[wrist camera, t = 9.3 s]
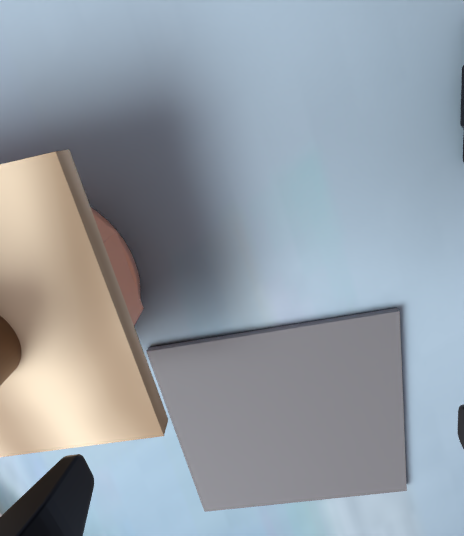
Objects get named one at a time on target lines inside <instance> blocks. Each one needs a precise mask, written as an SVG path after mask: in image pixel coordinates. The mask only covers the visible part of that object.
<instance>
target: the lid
mask: <svg viewBox="0 0 464 536" xmlns="http://www.w3.org/2000/svg"><path fill="white" fill-rule="evenodd" d="M167 422H168V418H167V415H166V412H165V410H164V407H163V404H162V401H161V399H160V396H159V393H158V390H157V388H156V385H155V382H154V380H153V377H152V374H151V371H150V369H149V366H148V363H147V360H146V358H145V355H144V352H143V349H142V347H141V344H140V341H139V339H138V336H137V333H136V330H135V328H134V325H133V322H132V319H131V317H130V314H129V311H128V308H127V306H126V303H125V300H124V298H123V295H122V292H121V289H120V287H119V284H118V281H117V278H116V276H115V273H114V270H113V267H112V265H111V262H110V259H109V257H108V254H107V251H106V248H105V246H104V243H103V240H102V237H101V235H100V232H99V229H98V227H97V224H96V221H95V218H94V216H93V213H92V210H91V207H90V205H89V202H88V199H87V196H86V194H85V191H84V188H83V186H82V183H81V180H80V177H79V175H78V172H77V169H76V166H75V164H74V161H73V158H72V155H71V153H70V150H69V149H68V150H62V151H56V152H51V153H47V154H43V155H38V156H34V157H30V158H25V159H21V160H17V161H13V162H8V163H4V164H0V457H5V456H13V455H21V454H28V453H36V452H44V451H52V450H59V449H67V448H75V447H82V446H90V445H98V444H106V443H113V442H121V441H129V440H137V439H144V438H152V437H160V436H164V433H165V429H166V426H167Z"/></svg>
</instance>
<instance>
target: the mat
mask: <svg viewBox="0 0 464 536" xmlns="http://www.w3.org/2000/svg"><path fill="white" fill-rule="evenodd" d="M147 354H148V357H149V360H150V363H151V365H152V368H153V371H154V374H155V376H156V379H157V382H158V385H159V387H160V390H161V393H162V396H163V398H164V401H165V404H166V407H167V409H168V412H169V415H170V418H171V420H172V423H173V426H174V429H175V431H176V434H177V437H178V440H179V442H180V445H181V448H182V451H183V453H184V456H185V459H186V462H187V464H188V467H189V470H190V473H191V475H192V478H193V481H194V484H195V486H196V489H197V492H198V495H199V497H200V500H201V503H202V506H203V508H204V511H205V512H206V511H216V510H225V509H235V508H245V507H254V506H264V505H274V504H283V503H293V502H302V501H312V500H322V499H331V498H341V497H351V496H360V495H370V494H380V493H389V492H399V491H407V487H406V461H405V436H404V410H403V384H402V359H401V333H400V311H399V310H398V309H397V308H392V309H386V310H380V311H374V312H368V313H361V314H355V315H349V316H343V317H337V318H330V319H324V320H318V321H312V322H306V323H299V324H293V325H287V326H281V327H274V328H268V329H262V330H256V331H250V332H243V333H237V334H231V335H225V336H219V337H212V338H206V339H200V340H194V341H188V342H181V343H175V344H169V345H163V346H157V347H150V348H148V349H147Z"/></svg>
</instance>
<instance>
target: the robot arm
mask: <svg viewBox="0 0 464 536" xmlns="http://www.w3.org/2000/svg"><path fill="white" fill-rule="evenodd" d="M461 126H462V127H463V128H464V65H463V67H462V90H461ZM463 162H464V137H463ZM458 436H459V440H460V442H461V445H462V447H463V449H464V405H461V406H460V407H459V410H458ZM93 487H94V478H93V474H92V473H91V471H90V469H89V467H88V465H87V463H86V461H85V459H84V457H83V456H82V455H80V454H77V455H69V456H65V457H63V458H62V459H61V460H60V461H59V462H58V463H57V464H56V465H55V466H54V467H52V468H51V469H50V470H49V471H48V472H47V473H46V474H45V475H44V476H43V477H42V478H41V479H40V480H39V481H38V482H37V483H36V484H35V485H34V486H33V487H31V488H30V489H29V490H28V491H27V492H26V493H25V494H24V495H23V496H22V497H21V498H20V499H19V500H18V501H17V502H16V503H15V504H14V505H13V506H12V507H10V508H9V509H8V510H7V511H6V512H5V513H4V514H3V515H2V516H1V517H0V536H83V532H84V528H85V523H86V519H87V514H88V510H89V505H90V501H91V496H92V492H93Z"/></svg>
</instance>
